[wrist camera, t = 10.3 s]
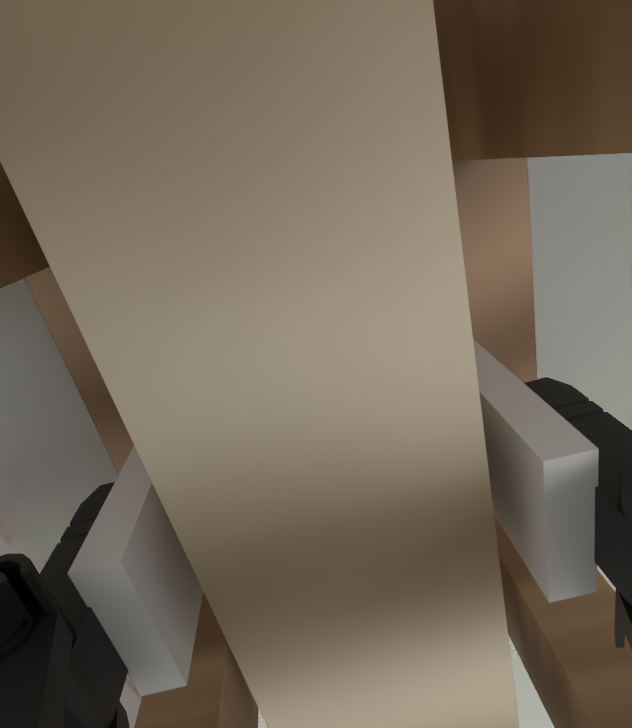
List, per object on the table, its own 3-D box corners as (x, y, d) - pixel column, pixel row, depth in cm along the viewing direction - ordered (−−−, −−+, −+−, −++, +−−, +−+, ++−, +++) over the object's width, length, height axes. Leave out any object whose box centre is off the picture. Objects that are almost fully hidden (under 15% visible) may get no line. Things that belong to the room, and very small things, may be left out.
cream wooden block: (135, 93, 11) (-88, -25, 4) (329, 40, 10) (413, -167, 4) (309, 592, 17) (328, 855, 10) (432, 562, 17) (528, 810, 10)
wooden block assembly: (-74, -6, 11) (-1581, -753, 2) (480, -151, 11) (1467, -1709, 2) (218, 634, 19) (169, 1018, 11) (527, 563, 19) (738, 897, 10)
